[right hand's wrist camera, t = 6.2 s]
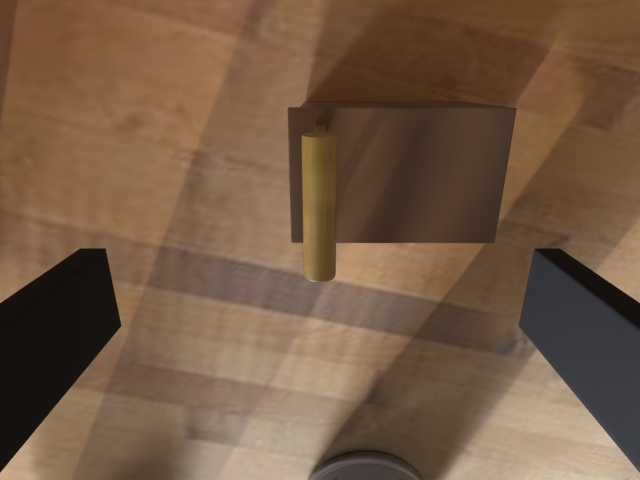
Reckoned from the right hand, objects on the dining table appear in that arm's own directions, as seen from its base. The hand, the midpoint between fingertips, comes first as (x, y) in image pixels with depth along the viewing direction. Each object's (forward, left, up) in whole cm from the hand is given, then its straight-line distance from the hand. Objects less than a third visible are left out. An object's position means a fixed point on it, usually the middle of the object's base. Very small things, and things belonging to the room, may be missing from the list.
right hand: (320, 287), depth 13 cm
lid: (+3, -4, -17) cm, 17 cm away
